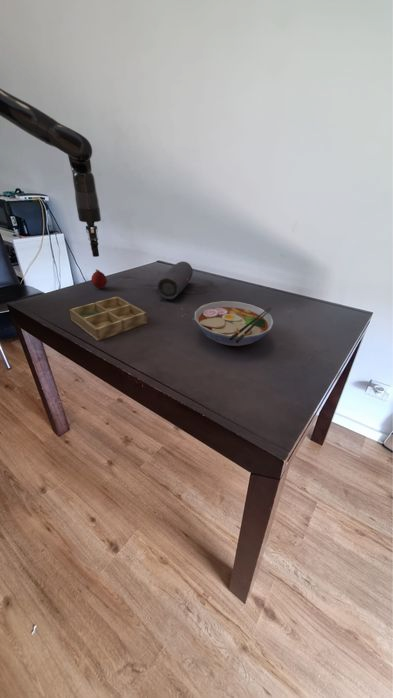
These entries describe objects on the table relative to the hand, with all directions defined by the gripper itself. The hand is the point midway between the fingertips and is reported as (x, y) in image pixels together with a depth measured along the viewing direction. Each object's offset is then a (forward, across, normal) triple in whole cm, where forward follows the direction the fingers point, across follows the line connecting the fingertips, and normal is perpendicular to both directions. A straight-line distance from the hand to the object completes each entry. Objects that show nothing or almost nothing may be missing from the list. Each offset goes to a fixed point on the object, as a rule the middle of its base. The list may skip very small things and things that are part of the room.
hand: (95, 253), depth 108 cm
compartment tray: (+14, +30, 0) cm, 33 cm away
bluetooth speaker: (+14, +11, +29) cm, 34 cm away
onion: (+14, 0, 0) cm, 14 cm away
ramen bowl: (+14, +52, +34) cm, 63 cm away
